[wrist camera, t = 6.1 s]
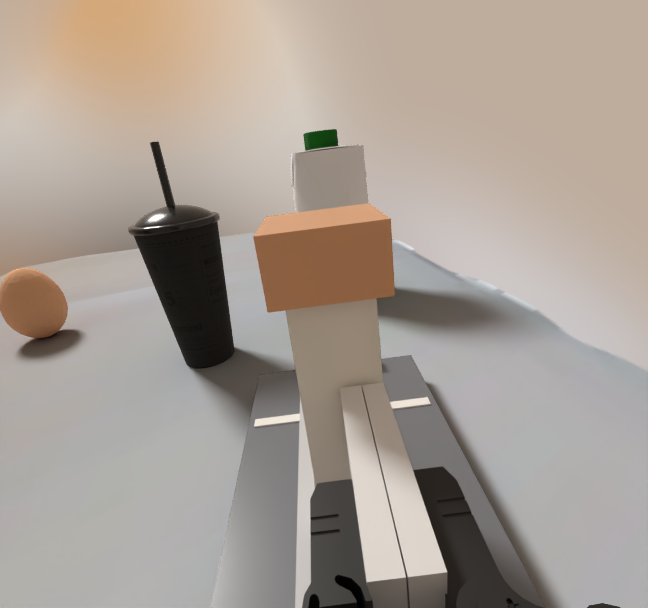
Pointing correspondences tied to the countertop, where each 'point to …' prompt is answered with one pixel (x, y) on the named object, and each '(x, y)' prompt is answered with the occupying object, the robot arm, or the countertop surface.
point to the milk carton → (328, 173)
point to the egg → (32, 303)
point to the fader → (328, 311)
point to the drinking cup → (187, 274)
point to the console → (298, 486)
